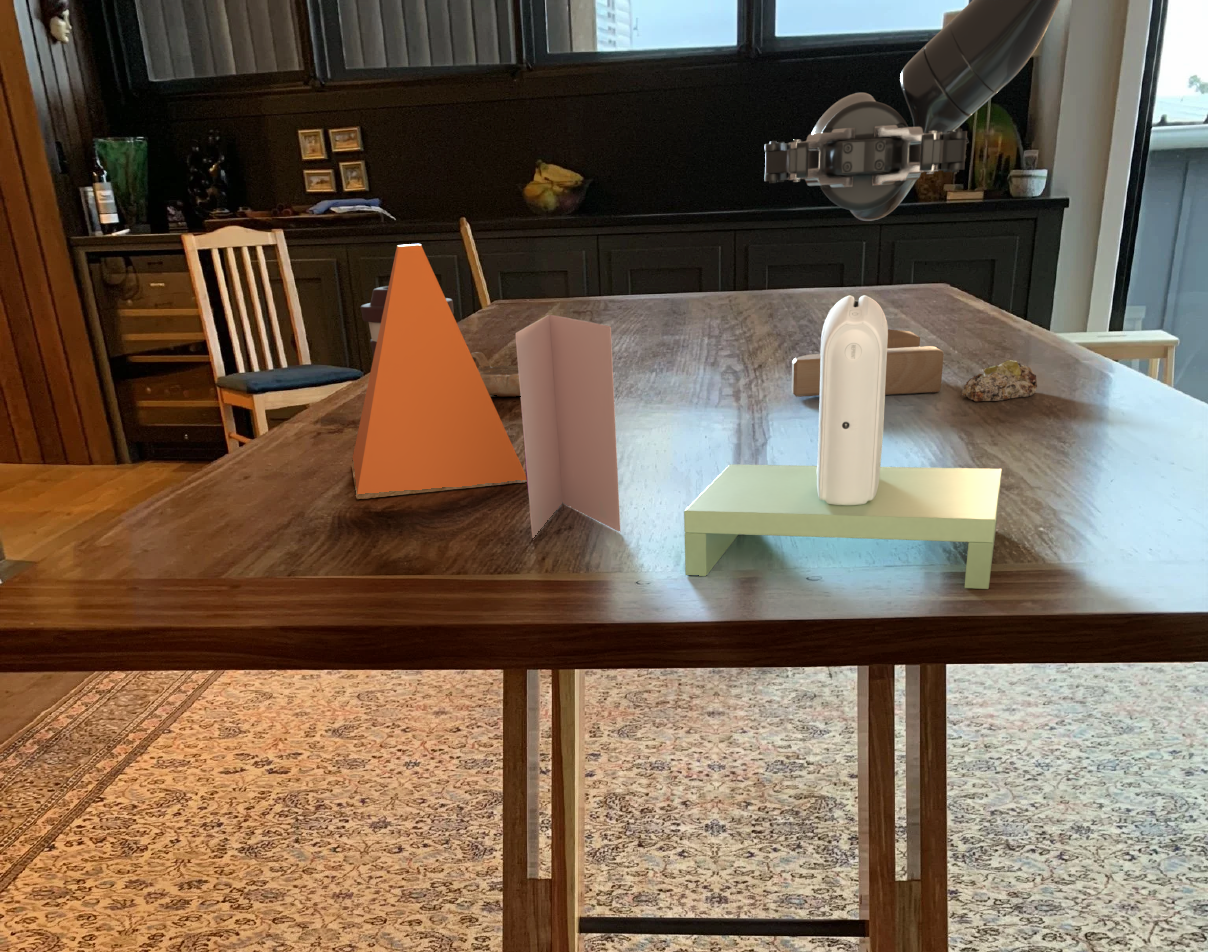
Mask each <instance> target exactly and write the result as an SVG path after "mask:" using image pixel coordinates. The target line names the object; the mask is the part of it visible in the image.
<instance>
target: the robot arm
mask: <svg viewBox="0 0 1208 952" xmlns="http://www.w3.org/2000/svg"><path fill="white" fill-rule="evenodd" d="M1060 1H1061V0H971V1H970V2H969V3H968V4H967V5H966V6H965V7H964V8H962V10H960V11H959V13H958V14H956V15H955V17H953V18H952V19H951V20H950V21H949V22H948V23H947V24H946V25H945V26H944V27H942V28H941V30H940V31H938V33H936V34H935V36H933V37H932V38H931V39H930V40H929V41H928V42H927V43H926V44H925V45H924V46H923V47H922V48H921V49H920V50H918V52H916V54H915V55H913V56H912V58H911V59H910V60H909V61H908V62H907V63H906V64H905V65H904V67H903V69H902V70H901V73H900V77H899V78H900V79H899V81H900V87H901V91H902V93H903V97H904V99H905V101H906V104H907V107H908V110H909V112H910V115H911V118H912V124H913V126H909V125H908V123H907V122H906V120H905V119H904V118H903V116H902V115H901V114H900V113H899V112H898V111H897V110H896V109H894V108H893V107H892V106H891V105H888V104H886V103H883V102H879V101H877V100H876V99H875V98H874V96H872V95H871V94H869V93H867V92H855V93H852V94H849V95H847V96H844V97H842V98H840V99H838V101H836V102H835V103H833V104H832V105H830V107H829V108H828V109H826V111H825V112H824V113H823V114H822V116H821V117H819V119H818V121H817V122H816V124H815V125H814V127H813V129H812V131H811V133H809V134H808V135H807V137H806V140H805V141H803V140H802V139H801V138H800V139H793V141H790V142H788V143H785V141H778V142H777V140H772V141H769V143H765V144H764V152H765V154H764V155H765V157H764V158H765V163H764V165H765V167H764V182H768V183H769V184H776V183H784V182H785V181H787V180H788V181H792V182H793V183H798V182H801V180H804V181H805V183H806V185H807V186H809V187H815V186H817V187H818V186H819V187H820V189H821V191H822V192H823V194H824V195H825V196H826V197H827V198H828V199H829V201H831V202H832V203H833V204H834V205H836V206H837V207H839V208H842V209H844V210H848V211H850V213H851V214H852V215H853V216H854V217H855V218H856V219H858V220H860V221H865V222H873V221H876V220H880V219H882V218H885V217H887V216H888V215H889V214H891V213H892V212H894V210H896V209H897V208H898V207H899V205H900V204H901V203H902V202H903V200H904V199H905V198H906V197H907V195H908V194H909V192H910V191H911V189H913V187H914V185H915V183H917V180H918V179H919V178H920V177H921V174H922V173H926V175H934V174H935V173H934V172H939V171H943V173H959V172H960V171H961V170H965V165H966V164H965V162H966V153H967V151H966V150H967V137H968V130H963V128H960V126H962V125H963V124H964V123H965V122H966V121H967V120H968V119H969V118H970V117H971V116H972V115H973V114H975V113H976V112H977V111H978V110H979V109H981V107H983V106H984V105H985V104H986V103H988V102H989V100H990V99H992V98H994V96H995V95H996V94H997V93H998V92H1000V91H1001V90H1003V88H1004V87H1006V86H1007V85H1008V84H1009V83H1010V82H1011V81H1012V80H1013V79H1014V78H1015V77H1016V76H1017V75H1018V74H1019V72H1021V70H1022V69H1023V68H1024V67H1025V66H1026V64H1027V63H1028V61H1029V60H1030V58H1031V57H1032V56H1033V55H1034V53H1035V51H1036V50H1037V48H1038V46H1039V45H1040V44H1041V41H1042V40H1043V37H1044V36H1045V33H1046V31H1047V29H1048V28H1049V25H1050V23H1051V21H1052V19H1053V17H1054V15H1055V12H1056V10H1057V8H1058V6H1059V4H1060Z"/></svg>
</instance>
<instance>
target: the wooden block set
mask: <svg viewBox="0 0 1208 952" xmlns="http://www.w3.org/2000/svg"><path fill="white" fill-rule="evenodd" d="M820 361H821V357H820V353H813V354H806V355H801V356H798V357H795V358H793V360H792V362H791V393H792V394H793V395H794V396H795V397H796V398H799V397H801V398H802V397H817V396H819V397H820ZM943 366H944V351H943V350H941V349H939V348H937V347H936V346H933V345H926V346H924V345H923V346H921V337H920V336H919V335H917V334H916V333H914V332H913V331H909V330H899V329H891V328H890V329H889V328H888V342H887V361H886V382H885V396H897V395H914V394H932V393H934V394H935V393H939V392H940V391H941V389H942V380H943Z"/></svg>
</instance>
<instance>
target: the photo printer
mask: <svg viewBox="0 0 1208 952" xmlns="http://www.w3.org/2000/svg"><path fill="white" fill-rule="evenodd" d="M888 327H889V326H888V321H887V317H886V314H885V312H884V310H883V308H882V307H881V305H880V304H879V303H878V302H877V301H876V300H875V299H873V298H872V297H870V296H868V295H866V294H863V295H861V296H860V297H859V298H858V300H856V299H855V297H854V296H853V295H846V296H844V297H842V298H841V299H840V300H838V301H837V302H836V303H835V304H834V305H833V306H832V307H831V308H830V309H829V311H828V313H827V316H826V318H825V319H824V322H823V326H822V329H821V337H820V349H819V350H820V351H819V354H820V357H821V361H820V396H819V401H818V402H819V403H818V404H819V405H818V406H819V407H818V431H817V436H818V437H817V459H816V460H817V462H816V466H817V470H816V474H817V491H818V496H819V499H820V500H824V501H826V503H827V504H831V505H843V506H847V505H862V504H866V503H867V501H870V500H873V499H874V497H875V496H876V493H877V489H878V484H879V476H880V467H881V463H882V462H881V461H882V451H883V438H884V423H885V401H886V395H885V382H886V361H887V342H888V329H889V328H888Z"/></svg>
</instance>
